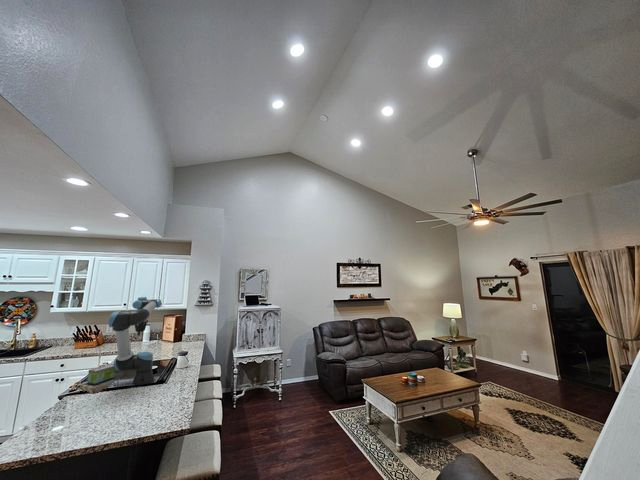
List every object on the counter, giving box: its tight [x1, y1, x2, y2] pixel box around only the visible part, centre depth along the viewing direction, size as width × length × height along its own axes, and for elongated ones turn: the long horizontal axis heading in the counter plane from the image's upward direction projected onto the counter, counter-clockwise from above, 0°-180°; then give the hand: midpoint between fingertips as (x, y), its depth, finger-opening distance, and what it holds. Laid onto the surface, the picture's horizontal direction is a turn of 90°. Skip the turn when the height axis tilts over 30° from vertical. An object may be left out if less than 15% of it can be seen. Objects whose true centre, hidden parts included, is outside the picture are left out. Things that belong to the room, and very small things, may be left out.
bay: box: [79, 382, 109, 394], centre depth 218 cm, size 18×10×4 cm, turn 67°
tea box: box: [86, 364, 116, 387], centre depth 225 cm, size 15×10×15 cm, turn 162°
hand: (139, 338), depth 261 cm, fingers closed
